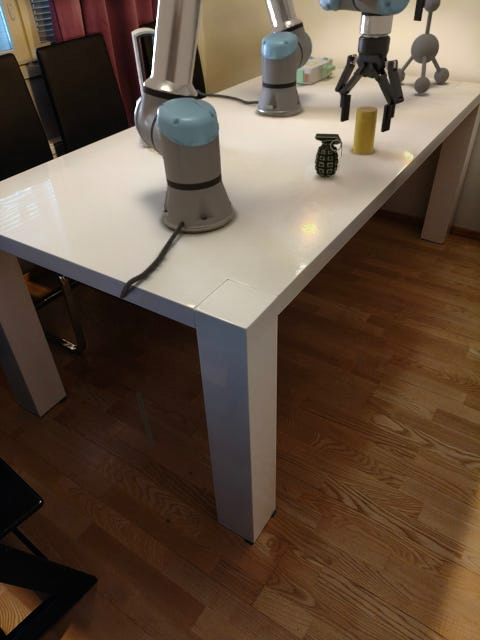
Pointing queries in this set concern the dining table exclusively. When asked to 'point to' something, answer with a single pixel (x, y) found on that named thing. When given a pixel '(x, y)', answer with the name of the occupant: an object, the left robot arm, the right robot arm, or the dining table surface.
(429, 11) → the molecular model
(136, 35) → the electronic device
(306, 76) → the decorative block
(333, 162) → the grenade
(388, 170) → the dining table surface
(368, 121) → the canister
